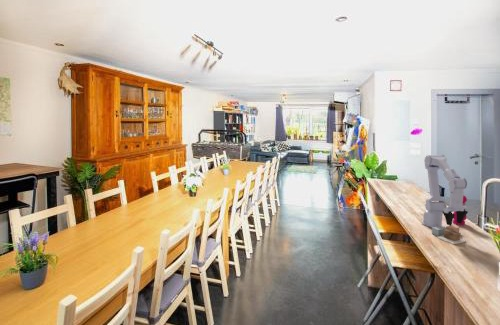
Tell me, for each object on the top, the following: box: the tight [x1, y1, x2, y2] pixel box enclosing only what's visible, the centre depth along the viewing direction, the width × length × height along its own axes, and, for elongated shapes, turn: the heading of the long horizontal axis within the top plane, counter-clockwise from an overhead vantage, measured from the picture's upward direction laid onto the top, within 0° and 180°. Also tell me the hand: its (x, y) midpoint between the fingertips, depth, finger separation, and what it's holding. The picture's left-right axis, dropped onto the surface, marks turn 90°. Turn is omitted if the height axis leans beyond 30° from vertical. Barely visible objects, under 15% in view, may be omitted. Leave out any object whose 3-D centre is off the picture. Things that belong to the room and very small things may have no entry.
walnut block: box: [444, 229, 461, 241], centre depth 156 cm, size 6×4×4 cm, turn 19°
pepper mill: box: [452, 194, 468, 226], centre depth 178 cm, size 7×7×20 cm
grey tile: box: [437, 235, 466, 245], centre depth 156 cm, size 9×9×1 cm
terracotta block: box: [445, 224, 461, 233], centre depth 165 cm, size 6×4×4 cm, turn 116°
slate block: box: [431, 226, 447, 237], centre depth 164 cm, size 6×4×4 cm, turn 105°
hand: (454, 223), depth 156 cm, fingers open, 7 cm apart
